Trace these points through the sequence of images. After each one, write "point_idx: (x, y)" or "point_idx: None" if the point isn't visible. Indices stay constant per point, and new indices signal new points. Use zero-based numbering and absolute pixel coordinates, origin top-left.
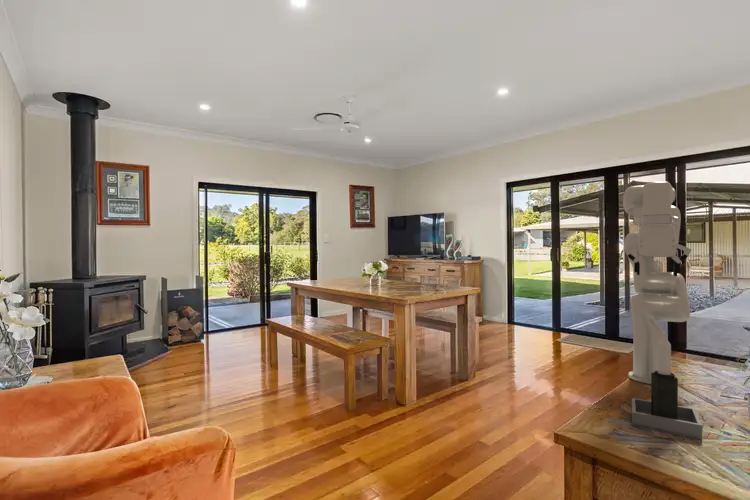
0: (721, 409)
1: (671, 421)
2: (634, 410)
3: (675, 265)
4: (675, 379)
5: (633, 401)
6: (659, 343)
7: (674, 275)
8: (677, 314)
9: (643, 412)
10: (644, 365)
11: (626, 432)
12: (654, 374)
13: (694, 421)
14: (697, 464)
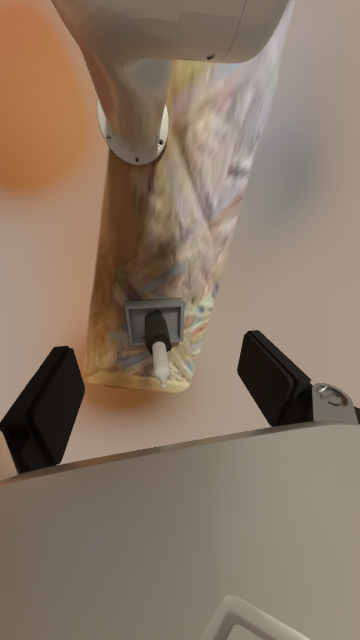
0: (213, 240)
1: None
2: (131, 341)
3: (270, 419)
4: (169, 350)
5: (127, 317)
6: (156, 377)
7: (238, 372)
8: (225, 62)
9: (137, 309)
10: (127, 142)
11: (127, 353)
12: (148, 347)
13: (179, 319)
14: (172, 371)
